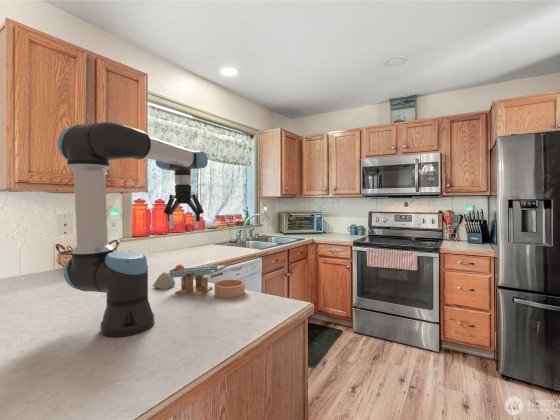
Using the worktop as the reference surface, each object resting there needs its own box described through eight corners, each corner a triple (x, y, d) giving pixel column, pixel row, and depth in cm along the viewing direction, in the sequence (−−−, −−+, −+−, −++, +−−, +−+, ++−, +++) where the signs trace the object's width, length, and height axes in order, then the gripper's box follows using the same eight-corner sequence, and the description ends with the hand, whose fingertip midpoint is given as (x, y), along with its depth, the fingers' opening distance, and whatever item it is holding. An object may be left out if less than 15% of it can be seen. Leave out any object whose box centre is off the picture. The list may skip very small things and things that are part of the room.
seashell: (179, 282, 137) (164, 276, 132) (168, 296, 137) (152, 291, 133) (176, 272, 144) (161, 266, 139) (165, 286, 144) (150, 280, 139)
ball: (182, 272, 129) (179, 264, 130) (174, 275, 130) (171, 266, 131) (187, 270, 133) (184, 262, 134) (179, 273, 134) (177, 265, 135)
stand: (200, 295, 123) (199, 274, 123) (175, 293, 126) (175, 272, 126) (212, 288, 134) (212, 268, 134) (189, 286, 137) (189, 267, 137)
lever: (212, 274, 124) (210, 266, 124) (170, 277, 129) (169, 270, 130) (226, 267, 138) (225, 260, 138) (187, 270, 143) (187, 263, 143)
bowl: (237, 299, 118) (237, 288, 118) (209, 297, 121) (209, 286, 121) (248, 290, 130) (248, 280, 130) (222, 288, 134) (222, 278, 134)
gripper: (210, 184, 142) (210, 227, 143) (165, 185, 148) (166, 227, 149) (202, 183, 135) (203, 228, 136) (155, 184, 141) (156, 228, 141)
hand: (183, 228), depth 142 cm, fingers open, 13 cm apart
